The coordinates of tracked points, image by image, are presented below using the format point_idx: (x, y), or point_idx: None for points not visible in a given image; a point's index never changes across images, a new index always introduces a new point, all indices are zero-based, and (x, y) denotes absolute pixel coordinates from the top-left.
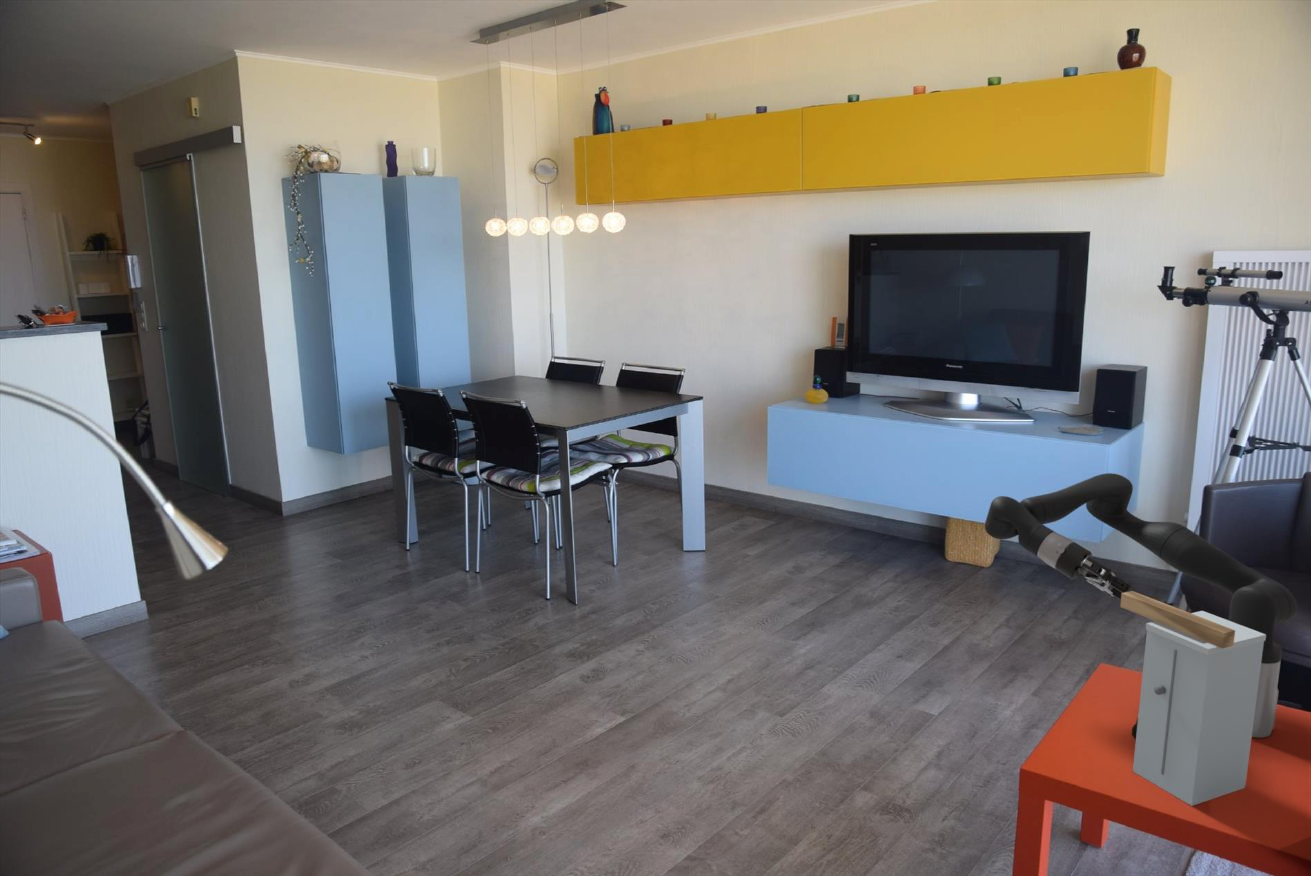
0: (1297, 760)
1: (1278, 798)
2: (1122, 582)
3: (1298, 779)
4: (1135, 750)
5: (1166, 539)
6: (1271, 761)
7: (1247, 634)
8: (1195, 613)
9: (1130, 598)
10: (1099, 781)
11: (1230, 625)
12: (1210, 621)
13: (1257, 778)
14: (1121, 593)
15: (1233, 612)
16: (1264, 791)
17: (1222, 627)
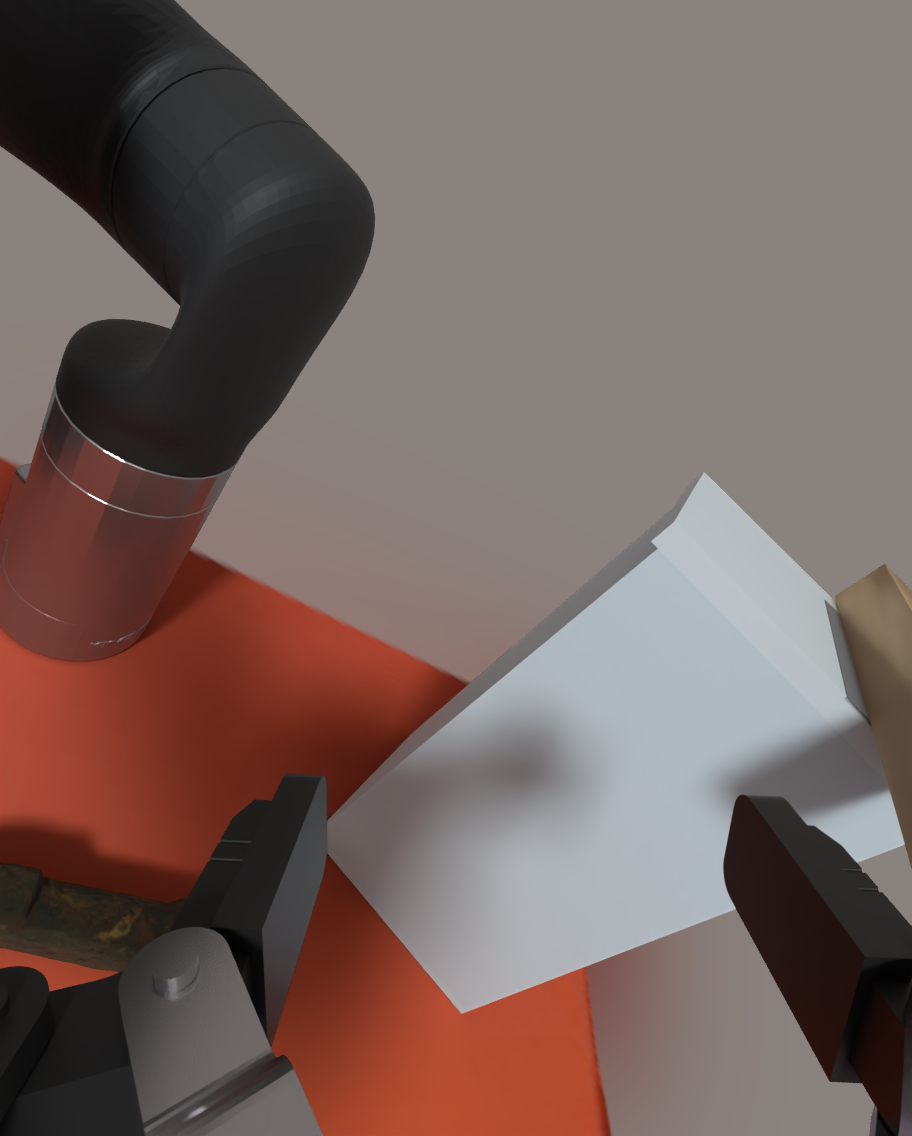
0: (247, 580)
1: (419, 687)
2: (861, 880)
3: (332, 619)
4: (506, 994)
5: None
6: (271, 633)
7: (741, 515)
8: (721, 566)
9: None
10: (557, 1129)
11: (721, 517)
12: (904, 595)
13: (360, 694)
14: (290, 924)
15: (237, 323)
16: (406, 702)
17: (903, 586)
